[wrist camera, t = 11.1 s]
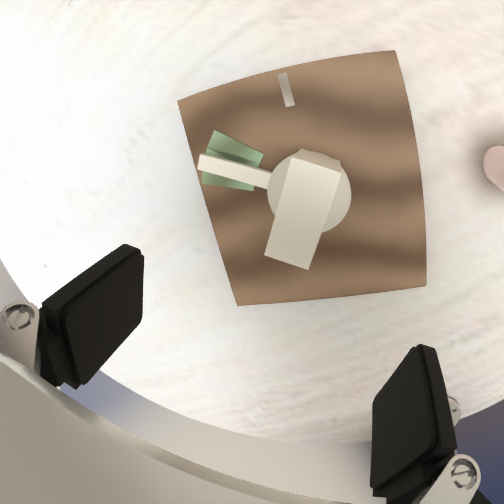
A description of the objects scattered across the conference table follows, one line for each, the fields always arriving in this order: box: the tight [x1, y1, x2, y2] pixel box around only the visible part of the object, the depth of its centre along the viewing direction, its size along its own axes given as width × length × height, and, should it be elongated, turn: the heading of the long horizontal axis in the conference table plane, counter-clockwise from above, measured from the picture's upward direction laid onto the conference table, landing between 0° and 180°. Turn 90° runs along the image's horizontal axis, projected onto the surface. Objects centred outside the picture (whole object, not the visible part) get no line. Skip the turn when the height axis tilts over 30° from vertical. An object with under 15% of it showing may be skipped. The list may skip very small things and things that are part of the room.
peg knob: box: [197, 149, 351, 270], centre depth 23 cm, size 14×7×7 cm, turn 77°
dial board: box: [177, 50, 426, 306], centre depth 27 cm, size 22×20×1 cm
